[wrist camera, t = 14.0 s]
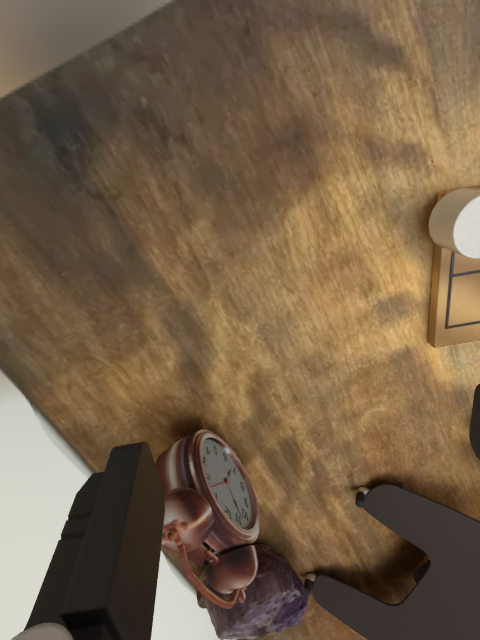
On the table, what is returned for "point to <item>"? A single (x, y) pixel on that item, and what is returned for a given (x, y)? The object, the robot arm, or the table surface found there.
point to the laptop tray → (415, 573)
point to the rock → (260, 600)
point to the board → (454, 297)
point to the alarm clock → (210, 513)
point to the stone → (457, 222)
